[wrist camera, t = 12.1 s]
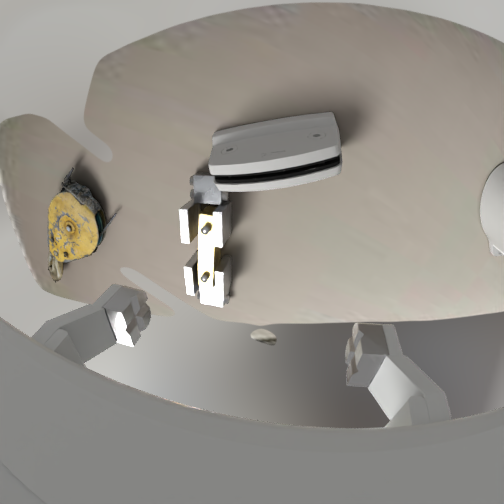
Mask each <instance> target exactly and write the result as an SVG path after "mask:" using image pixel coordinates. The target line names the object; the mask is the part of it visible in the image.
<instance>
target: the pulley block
mask: <svg viewBox="0 0 504 504" xmlns="http://www.w3.org/2000/svg"><path fill="white" fill-rule="evenodd" d="M73 169H74V168H72V169H71V171H70V172H69V174H68V175H66V177H65V179H64V182H65V183H64V184H63V182H62V183H61V185H62V186H63V188H62V190H61V192H60V193H58V194H57V195H56V196H55V197H54V198H53V199H52V201H51V203H50V206H49V209H48V246H49V250H50V251H49V254H48V268H49V269H48V270H49V272H50V275H51V277H52V279H53V280H54V281H55V283H56V281H59V280H60V279H61V278H62V274H63V262H66V263H67V262H71V261H74V260H77V259H81V258H84V257H88V256H91V255H92V253H94V252H96V250H97V248H98V247H97V246H98V245H100V244H101V243H102V241H103V239H104V237H105V232H106V228H107V227H108V225H109V224H110V223H111V221H112V220H113V218H114V217H115V216H116V213H115V214H114V216H113V217H112V218H111V220H110V221H109V222H108V224H106V220H105V215H104V211H103V210H102V208H101V206H100V205H99V202H97V201H96V200H95V199H94V198H93V197H92V194H91V192H90V190H89V188H87V187H86V186H82V185H80V184H78V183H76V181H73V180H71V178H70V176H71V174H72V171H73ZM69 183H71V184H69Z"/></svg>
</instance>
